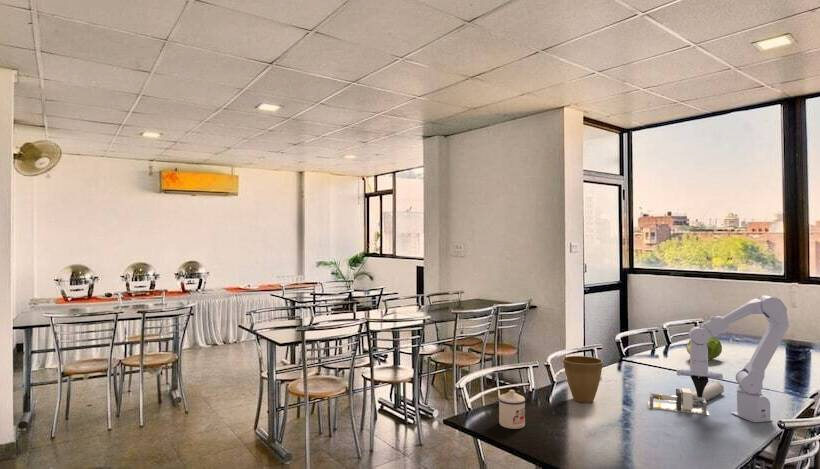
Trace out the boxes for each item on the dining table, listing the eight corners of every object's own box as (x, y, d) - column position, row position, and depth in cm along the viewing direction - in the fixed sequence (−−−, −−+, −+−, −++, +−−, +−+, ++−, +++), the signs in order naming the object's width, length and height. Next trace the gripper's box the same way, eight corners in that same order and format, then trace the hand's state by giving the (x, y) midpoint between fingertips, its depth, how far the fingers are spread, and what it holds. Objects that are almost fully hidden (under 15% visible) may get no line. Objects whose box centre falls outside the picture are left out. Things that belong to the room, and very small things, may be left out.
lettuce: (677, 361, 252) (676, 336, 253) (696, 355, 267) (695, 331, 267) (706, 366, 241) (706, 340, 241) (724, 360, 255) (724, 335, 256)
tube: (700, 398, 180) (725, 385, 195) (685, 390, 184) (712, 378, 199) (695, 410, 181) (721, 397, 196) (681, 402, 185) (707, 390, 201)
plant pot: (609, 399, 190) (608, 359, 191) (594, 408, 179) (593, 366, 180) (573, 391, 200) (572, 353, 201) (556, 400, 190) (556, 359, 190)
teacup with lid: (516, 431, 158) (516, 396, 158) (493, 424, 164) (493, 390, 164) (535, 422, 166) (534, 388, 166) (512, 415, 172) (512, 383, 173)
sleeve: (690, 405, 181) (690, 388, 181) (692, 410, 175) (692, 393, 176) (681, 404, 182) (681, 388, 182) (683, 409, 177) (683, 392, 177)
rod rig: (705, 408, 180) (705, 395, 180) (709, 415, 172) (709, 402, 172) (647, 401, 188) (647, 389, 188) (648, 408, 180) (648, 395, 180)
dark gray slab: (679, 404, 182) (679, 389, 182) (681, 409, 177) (681, 393, 177) (676, 404, 183) (675, 388, 183) (677, 409, 177) (677, 393, 177)
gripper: (719, 359, 178) (720, 396, 178) (675, 355, 184) (676, 391, 184) (723, 363, 172) (724, 401, 171) (677, 359, 178) (678, 396, 177)
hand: (699, 396), depth 177 cm, fingers closed
